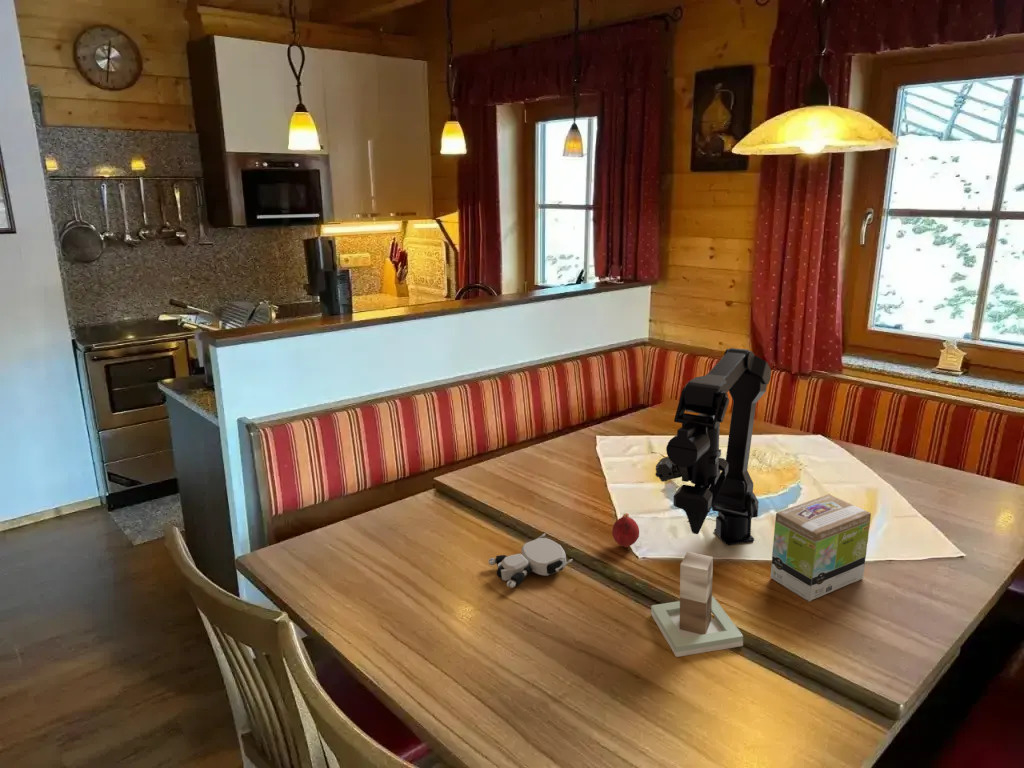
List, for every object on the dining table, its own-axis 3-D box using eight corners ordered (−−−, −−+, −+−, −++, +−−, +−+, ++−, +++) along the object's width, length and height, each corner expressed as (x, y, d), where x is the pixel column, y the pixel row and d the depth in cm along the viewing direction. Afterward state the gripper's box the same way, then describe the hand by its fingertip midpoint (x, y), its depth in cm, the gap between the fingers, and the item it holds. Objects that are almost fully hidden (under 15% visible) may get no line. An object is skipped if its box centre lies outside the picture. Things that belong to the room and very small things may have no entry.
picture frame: (712, 605, 132) (712, 595, 131) (742, 645, 121) (743, 636, 120) (651, 614, 130) (651, 605, 130) (676, 657, 119) (676, 647, 118)
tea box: (811, 604, 131) (816, 533, 126) (769, 578, 139) (772, 511, 135) (865, 579, 137) (872, 511, 133) (822, 556, 146) (827, 491, 141)
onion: (638, 554, 150) (638, 521, 148) (611, 553, 151) (611, 520, 149) (639, 540, 156) (639, 508, 153) (613, 539, 157) (612, 507, 154)
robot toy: (511, 601, 139) (577, 574, 144) (508, 581, 137) (574, 555, 143) (486, 571, 150) (549, 547, 155) (483, 552, 148) (546, 529, 153)
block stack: (686, 614, 128) (687, 551, 124) (711, 620, 126) (713, 556, 122) (679, 629, 124) (680, 564, 121) (705, 635, 122) (707, 570, 118)
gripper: (673, 425, 143) (672, 495, 147) (645, 460, 127) (645, 537, 132) (730, 431, 138) (727, 503, 142) (708, 469, 122) (706, 549, 127)
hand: (701, 522), depth 136 cm, fingers open, 9 cm apart
